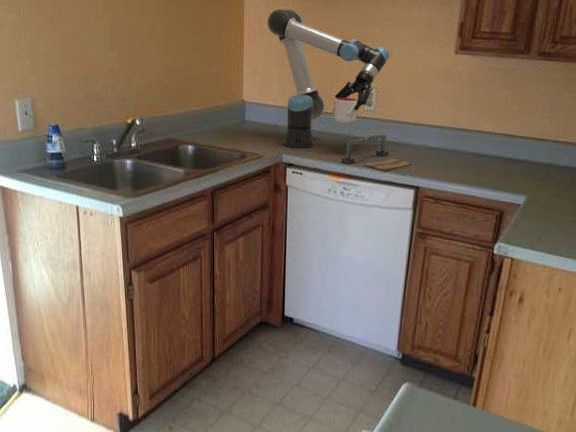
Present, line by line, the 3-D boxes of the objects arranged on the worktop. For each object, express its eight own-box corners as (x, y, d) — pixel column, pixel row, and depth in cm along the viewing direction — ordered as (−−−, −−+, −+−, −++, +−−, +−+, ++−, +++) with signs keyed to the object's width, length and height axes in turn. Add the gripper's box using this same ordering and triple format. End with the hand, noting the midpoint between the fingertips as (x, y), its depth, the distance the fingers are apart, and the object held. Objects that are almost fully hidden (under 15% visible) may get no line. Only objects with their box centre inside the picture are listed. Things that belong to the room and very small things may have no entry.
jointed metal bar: (340, 162, 239) (342, 140, 235) (380, 153, 256) (382, 133, 253) (348, 164, 235) (350, 142, 232) (388, 155, 253) (390, 135, 250)
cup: (354, 124, 245) (356, 101, 241) (332, 122, 247) (334, 100, 243) (356, 120, 254) (358, 98, 251) (335, 118, 256) (337, 97, 252)
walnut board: (364, 166, 234) (364, 164, 234) (390, 160, 246) (390, 158, 245) (385, 171, 226) (385, 169, 226) (410, 165, 238) (410, 163, 238)
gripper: (388, 84, 247) (363, 122, 242) (351, 79, 262) (327, 114, 257) (382, 72, 241) (356, 111, 237) (345, 68, 257) (319, 104, 252)
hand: (341, 113), depth 247 cm, fingers closed on cup, 10 cm apart
